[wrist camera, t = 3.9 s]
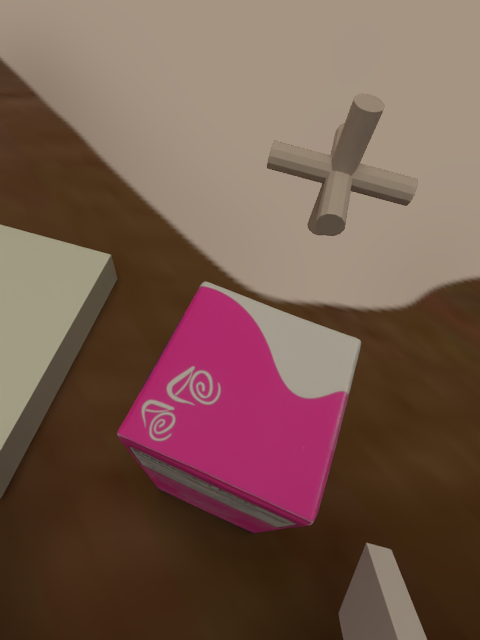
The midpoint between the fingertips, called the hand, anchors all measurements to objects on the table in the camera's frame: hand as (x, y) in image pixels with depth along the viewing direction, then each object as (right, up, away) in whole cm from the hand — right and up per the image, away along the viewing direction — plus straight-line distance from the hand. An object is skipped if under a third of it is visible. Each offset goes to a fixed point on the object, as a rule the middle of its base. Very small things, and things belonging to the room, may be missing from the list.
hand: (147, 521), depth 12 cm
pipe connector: (+9, +14, +19) cm, 25 cm away
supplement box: (+2, -1, +9) cm, 10 cm away
